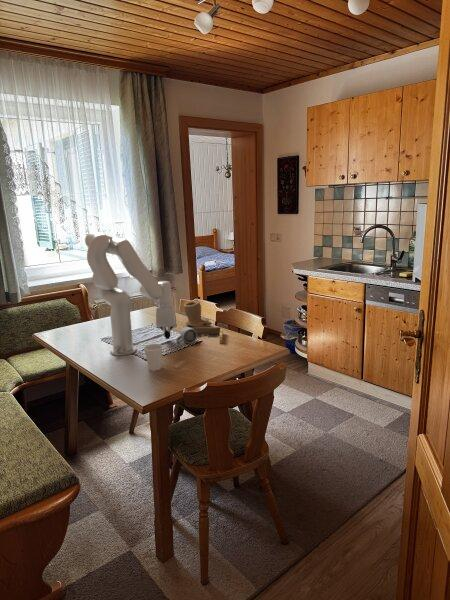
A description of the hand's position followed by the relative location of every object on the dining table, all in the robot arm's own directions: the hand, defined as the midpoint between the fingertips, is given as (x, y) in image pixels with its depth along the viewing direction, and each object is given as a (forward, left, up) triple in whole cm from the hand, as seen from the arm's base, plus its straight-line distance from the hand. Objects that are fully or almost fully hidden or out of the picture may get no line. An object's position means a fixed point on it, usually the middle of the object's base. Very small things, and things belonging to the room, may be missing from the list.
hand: (167, 338), depth 218 cm
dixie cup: (-36, 0, -2) cm, 36 cm away
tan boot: (+27, -13, -2) cm, 30 cm away
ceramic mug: (-1, -10, -2) cm, 10 cm away
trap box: (+3, -19, -2) cm, 19 cm away
